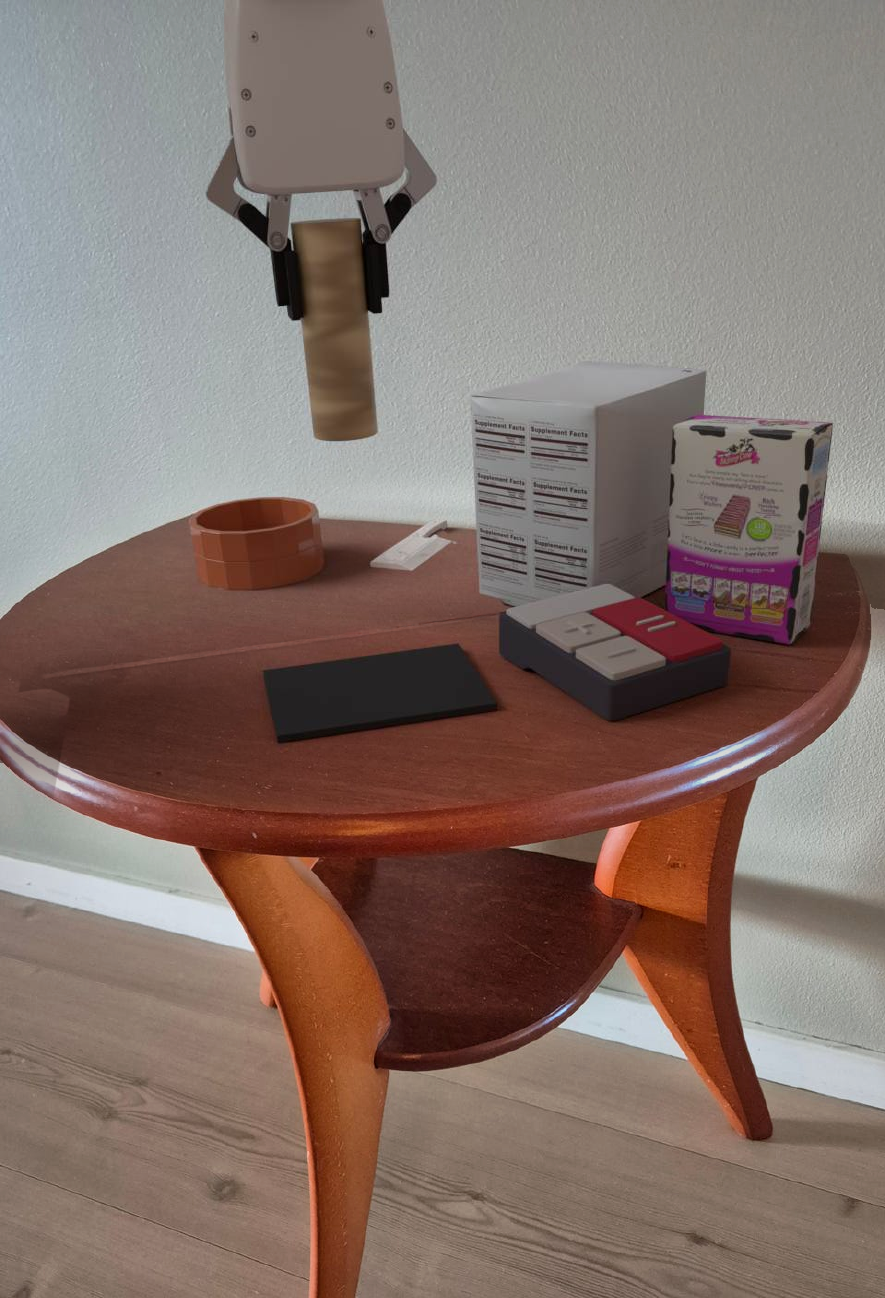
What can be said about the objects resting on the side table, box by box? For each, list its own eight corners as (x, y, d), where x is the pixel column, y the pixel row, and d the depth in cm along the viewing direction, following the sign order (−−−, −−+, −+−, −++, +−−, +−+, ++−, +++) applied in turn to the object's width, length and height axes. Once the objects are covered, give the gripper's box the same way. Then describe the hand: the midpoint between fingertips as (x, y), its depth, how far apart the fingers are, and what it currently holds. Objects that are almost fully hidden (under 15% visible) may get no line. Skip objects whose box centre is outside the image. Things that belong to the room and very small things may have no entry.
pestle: (318, 444, 72) (294, 224, 66) (310, 431, 76) (286, 221, 69) (383, 437, 73) (366, 218, 66) (372, 424, 77) (354, 217, 70)
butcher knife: (475, 530, 117) (475, 520, 117) (415, 575, 106) (414, 564, 105) (433, 526, 119) (432, 516, 119) (369, 570, 108) (368, 559, 107)
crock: (201, 601, 103) (190, 539, 100) (197, 562, 113) (187, 505, 110) (331, 585, 105) (325, 523, 102) (315, 548, 115) (309, 491, 112)
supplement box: (582, 548, 110) (583, 359, 101) (698, 570, 103) (711, 368, 94) (472, 598, 99) (464, 391, 91) (593, 627, 92) (597, 404, 83)
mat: (277, 743, 76) (276, 735, 76) (263, 676, 86) (262, 669, 86) (497, 710, 79) (497, 702, 79) (458, 649, 89) (458, 642, 89)
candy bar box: (812, 626, 89) (837, 420, 81) (791, 647, 86) (815, 434, 78) (685, 605, 95) (696, 410, 87) (660, 624, 92) (670, 423, 83)
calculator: (612, 675, 74) (496, 603, 85) (609, 731, 76) (496, 653, 88) (735, 639, 78) (609, 574, 90) (728, 692, 81) (607, 623, 92)
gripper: (431, -28, 66) (447, 299, 75) (149, -19, 63) (201, 319, 72) (461, -50, 60) (474, 309, 69) (149, -42, 57) (206, 333, 66)
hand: (334, 311), depth 70 cm, fingers closed on pestle, 4 cm apart
